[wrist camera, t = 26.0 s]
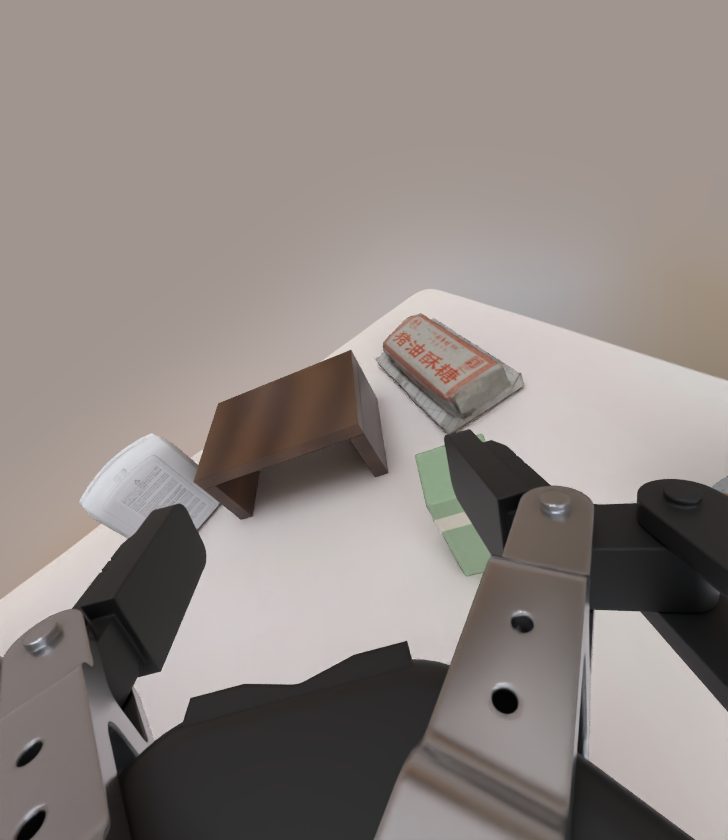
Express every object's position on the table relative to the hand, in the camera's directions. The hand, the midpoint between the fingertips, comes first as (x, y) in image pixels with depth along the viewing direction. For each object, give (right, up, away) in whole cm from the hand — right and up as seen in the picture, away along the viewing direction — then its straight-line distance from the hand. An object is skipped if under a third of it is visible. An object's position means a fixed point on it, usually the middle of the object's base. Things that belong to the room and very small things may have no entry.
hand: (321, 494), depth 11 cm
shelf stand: (-5, -2, +34) cm, 34 cm away
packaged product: (+11, +8, +34) cm, 37 cm away
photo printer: (-19, -10, +34) cm, 41 cm away
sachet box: (+11, -8, +19) cm, 23 cm away
